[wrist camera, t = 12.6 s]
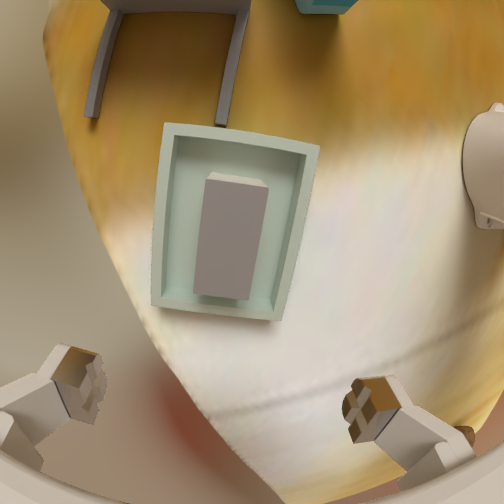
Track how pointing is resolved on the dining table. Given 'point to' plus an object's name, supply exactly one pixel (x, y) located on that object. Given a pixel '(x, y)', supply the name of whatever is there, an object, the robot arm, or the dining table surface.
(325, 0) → the data package
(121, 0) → the bay
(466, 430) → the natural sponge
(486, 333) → the dining table surface
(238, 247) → the tall grey rectangular block
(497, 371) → the dining table surface
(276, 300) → the tray
